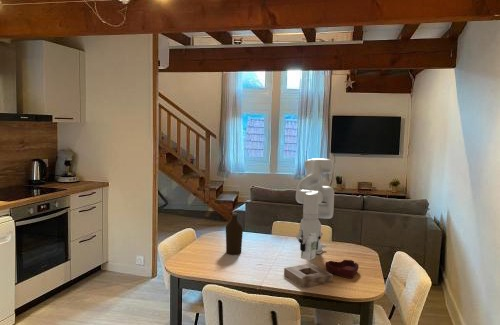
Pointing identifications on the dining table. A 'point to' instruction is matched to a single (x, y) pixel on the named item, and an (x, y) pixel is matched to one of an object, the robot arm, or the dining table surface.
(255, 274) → the dining table surface
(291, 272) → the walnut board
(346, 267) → the ashtray
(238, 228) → the olive oil
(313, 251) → the syrup box
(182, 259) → the dining table surface
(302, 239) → the robot arm
